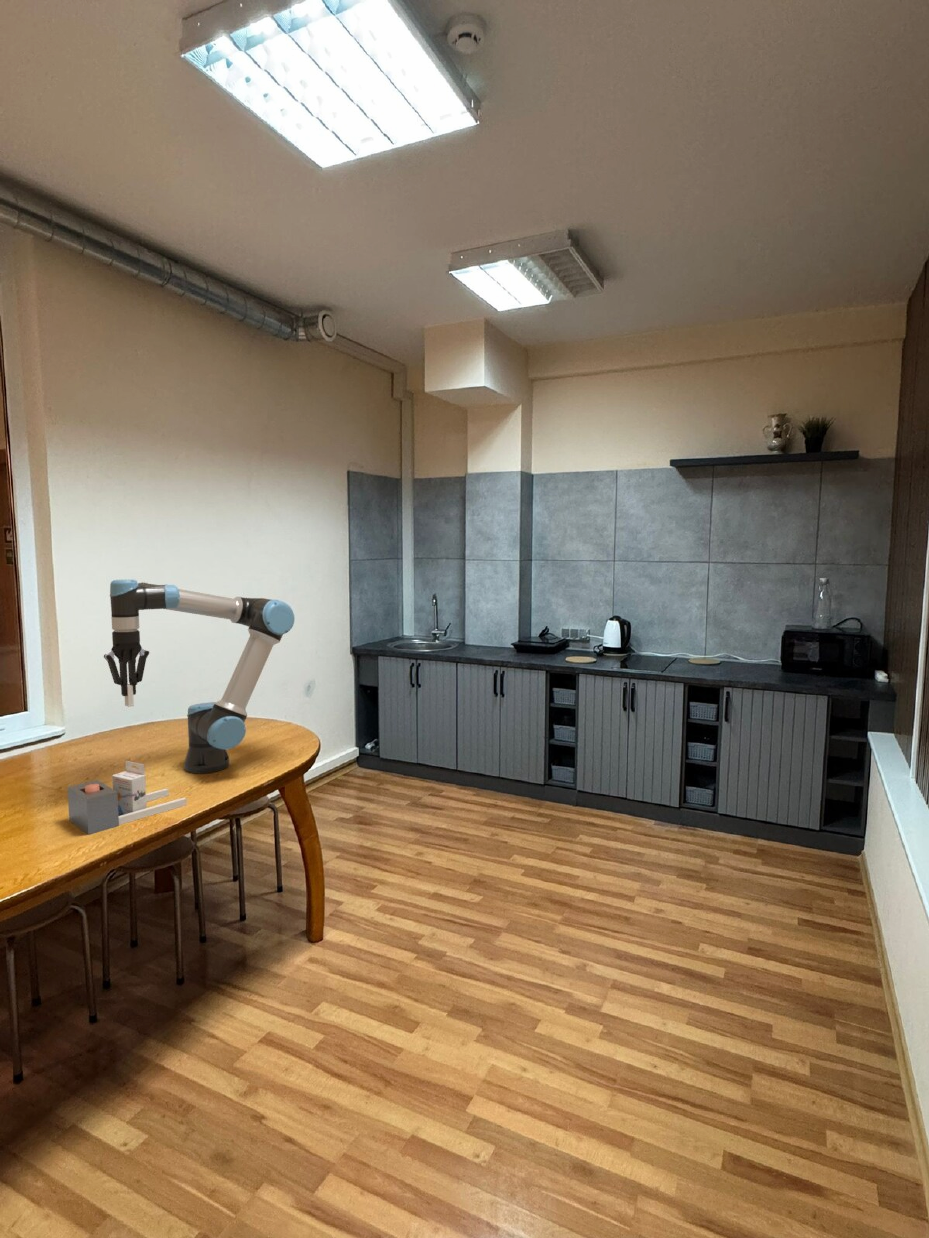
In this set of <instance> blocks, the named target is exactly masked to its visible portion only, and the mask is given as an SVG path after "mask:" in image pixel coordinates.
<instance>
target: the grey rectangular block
mask: <svg viewBox="0 0 929 1238" xmlns="http://www.w3.org/2000/svg"><path fill="white" fill-rule="evenodd" d="M89 784H99V789H100V791H96V792H92V793H88V794H86V793H85V786H87V785H89ZM67 801H68V803H67V804H68V805H67V806H68V816H69V817H68V818H69V820H68V821H69V822H71V823H72V824H73V825H74V826H76V827H77V828H78V829H80V830H81V831H82V832H84V833H86V834H87V835H88V836H89V835H93V834H97V833H99V832H103V831H105V830H106V831H107V830H109V829H112V828H116V827H119V826H120V825H119V816H120V814H118V794H117V791H116V790H114V789H113V787H111V786H109V785H107V784H105V782H102V781H100V780H99V779H95V780H91V781H87V782H83V783H78V784H74V785H70V786H67Z"/></svg>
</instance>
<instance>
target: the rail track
mask: <svg viewBox="0 0 929 1238" xmlns="http://www.w3.org/2000/svg"><path fill="white" fill-rule="evenodd" d="M169 796H170V790H169V788H163V789H159V790H155V791H152V792H148V793H147V792H146V803H148V802H150V801H151V802H152V801H154V800H158V799H162V798H165V797H169ZM187 805H188V804H187V798H185V797H182V798H181V797H180V798H177V799H174V800H171V801H167V802H164V803H159V804H157V805H153V806H150V807H147V808H145V809H142V810H139V811H135V812H132V813H128V814H125V815H119V826H121V825H125V824H127V823H130V822H134V821H136V820H137V821H138V820H140V819H144V818H147V817H151V816H153V815H159V814H161V813H164V812H167V811H171V810H174V809H178V808H182V807H185V806H187Z"/></svg>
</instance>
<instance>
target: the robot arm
mask: <svg viewBox="0 0 929 1238" xmlns="http://www.w3.org/2000/svg"><path fill="white" fill-rule="evenodd" d="M109 586H110V587H109V589H110V590H109V598H110V608H111V609H110V611H111V630H112V632H111V635H112V637H111V639H112V647H111V649H110V650H111V651H110V652H109V653H107V654H106V653H105V654H104V655H103V659H105V660H106V661H107V664H108V667H109V671H110V673H111V677H112V680H113V682H114V684H116V685H118V686H120V690H121V693H120V694H121V696H122V697H124V706H126V707H128V708H131V707H134V705H135V703H134V702H135V701H134V696H135V695H136V694H137V690H136V688H137V685H138V683H141V682H142V681H143V676H144V671H145V668H146V667H145V666H146V662H147V658H148V657H149V655H150V650H146V649H143V648H142V645H141V633H140V631H139V629H140V611H144V610H146V611H147V610H169V611H174V612H181V613H187V614H194V615H200V616H206V617H213V618H219V619H224V620H225V619H226V620H230V622H231V623H233V624H239V625H242V626H246V627H248V629H247V631H248V633H249V637H248V639H247V642H246V644H245V645H244V649H243V651H242V653H241V655H240V657H239V660H238V662H237V664H236V666H235V668H234V670H233V673H232V675H231V678H230V679H229V682H228V684H227V686H226V689H225V691H224V692H223V695H222V697H221V698H220V699H221V700H218V701H211V702H210V701H209V702H202V703H195V704H191V705H190V706H189V707H187V715H186V717H187V730H188V731H187V732H188V733H187V734H188V737H187V738H188V750H187V753H186V756H185V759H184V762H183V768H184V769H183V770H184V771H186V772H187V773H190V774H191V773H192V774H209V773H215V772H219V771H222V770H225V769H226V768H228V767H230V757H229V755H228V752H227V750H231V749H233V748H235V747H237V746H239V745H240V744H241V743H242V741H243V740H244V738H245V735H246V732H247V727H246V724H245V722H246V720H247V717H248V712H247V711H246V708H247V706H248V703H249V701H250V699H251V697H252V696H253V692H254V690H255V687H256V686H257V683H258V681H259V679H260V676H261V674H262V672H263V670H264V668H265V665H266V662H267V661H268V658H269V656H270V654H271V652H272V649H273V647H274V646H275V645H276V644H279V643H280V642H281V640H282V638H283V636H284V635H285V634H287V633H289V632H290V631H291V630H292V629H293V627H294V624H295V614H294V610H293V609H292V607H291V606H290V605H289V604H288V603H286V602H284V601H283V600H279V599H269V598H265V597H264V598H263V597H260V598H259V597H242V596H236V597H234V598H232V597H227V596H220V595H214V594H209V593H203V592H198V591H192V590H187V589H182V588H178V586H176V585H175V584H152V583H148V582H143V581H142V582H138V581H137V580H136V579H114V580H111V581H110V585H109ZM138 656H139V657H138ZM115 657H116V658H117V659H118V663H119V669H118V666H117V663H116V661H115V660H114V659H115ZM137 658H138V659H137ZM137 660H138V661H137ZM136 663H137V666H136ZM118 670H119V671H118Z"/></svg>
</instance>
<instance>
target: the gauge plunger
mask: <svg viewBox="0 0 929 1238" xmlns="http://www.w3.org/2000/svg"><path fill="white" fill-rule="evenodd" d="M96 791H100V789H99V784H89V785H87V786H85V793H86V794H88V793H92V792H96Z"/></svg>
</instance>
